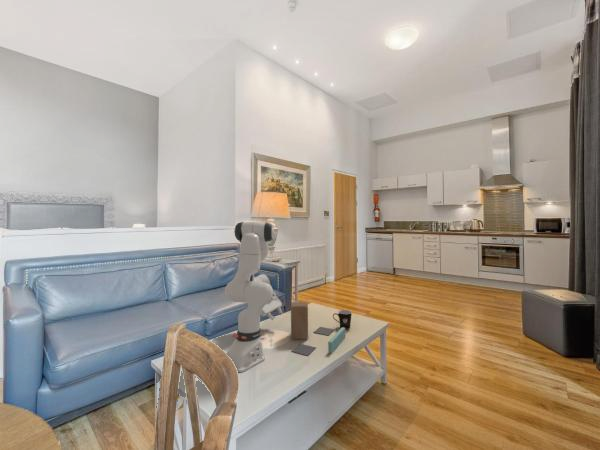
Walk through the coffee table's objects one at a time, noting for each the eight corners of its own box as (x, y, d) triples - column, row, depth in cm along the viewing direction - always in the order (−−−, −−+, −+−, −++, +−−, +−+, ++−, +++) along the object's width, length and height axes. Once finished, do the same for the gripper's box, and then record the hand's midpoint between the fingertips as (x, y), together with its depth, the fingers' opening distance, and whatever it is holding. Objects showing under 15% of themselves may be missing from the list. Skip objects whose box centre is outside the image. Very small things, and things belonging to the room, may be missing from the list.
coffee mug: (353, 326, 182) (353, 311, 182) (348, 330, 175) (348, 315, 175) (338, 322, 189) (337, 308, 189) (332, 326, 182) (332, 311, 182)
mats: (308, 356, 143) (308, 355, 143) (291, 351, 147) (291, 351, 147) (334, 330, 176) (334, 329, 176) (320, 327, 181) (320, 326, 181)
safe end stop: (331, 353, 145) (331, 342, 145) (328, 352, 146) (328, 341, 146) (345, 337, 165) (345, 327, 164) (342, 337, 165) (342, 327, 165)
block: (308, 340, 161) (307, 306, 161) (291, 340, 162) (290, 306, 161) (307, 333, 171) (307, 301, 171) (291, 333, 172) (291, 301, 171)
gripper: (257, 300, 168) (271, 319, 164) (275, 292, 186) (288, 308, 182) (251, 307, 170) (265, 325, 166) (270, 298, 188) (282, 314, 184)
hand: (277, 316), depth 174 cm, fingers open, 8 cm apart
